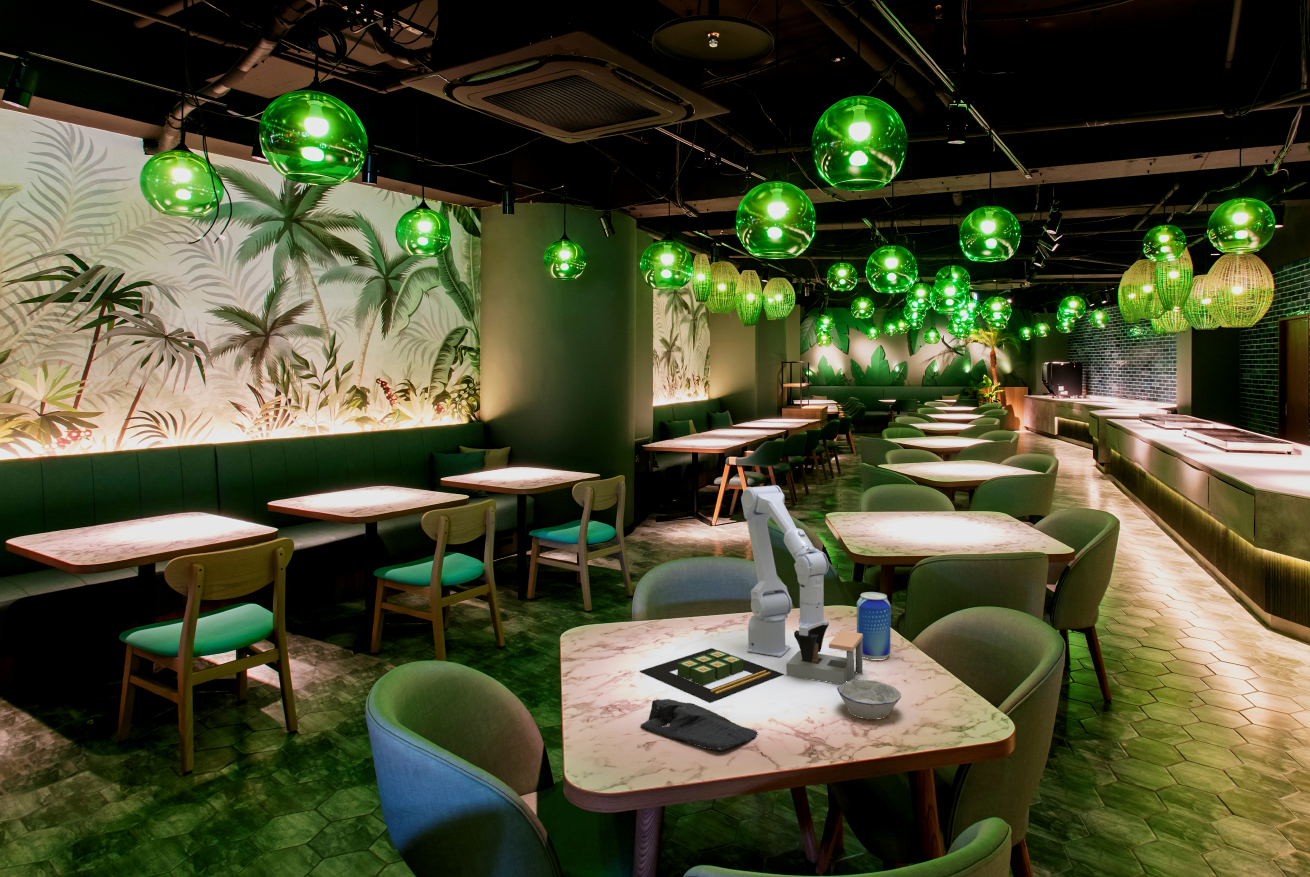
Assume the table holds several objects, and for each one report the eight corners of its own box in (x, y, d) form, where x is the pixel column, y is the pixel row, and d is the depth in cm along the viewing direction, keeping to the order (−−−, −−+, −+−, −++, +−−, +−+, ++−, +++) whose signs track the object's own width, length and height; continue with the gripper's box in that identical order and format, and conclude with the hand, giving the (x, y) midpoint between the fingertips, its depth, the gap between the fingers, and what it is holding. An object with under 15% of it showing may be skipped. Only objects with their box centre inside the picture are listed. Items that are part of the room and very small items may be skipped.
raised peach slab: (828, 683, 171) (828, 643, 171) (840, 668, 181) (840, 630, 180) (852, 687, 169) (852, 647, 168) (863, 671, 178) (863, 633, 178)
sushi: (710, 705, 161) (710, 689, 161) (639, 674, 180) (639, 659, 180) (783, 677, 177) (783, 662, 177) (711, 651, 196) (711, 637, 196)
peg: (803, 673, 178) (803, 644, 178) (806, 668, 181) (806, 640, 181) (816, 674, 177) (816, 646, 176) (819, 670, 180) (819, 642, 179)
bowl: (824, 709, 157) (824, 687, 157) (863, 695, 165) (863, 674, 164) (873, 730, 147) (873, 707, 146) (912, 714, 154) (913, 692, 154)
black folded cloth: (715, 764, 135) (715, 739, 135) (634, 727, 150) (634, 705, 150) (765, 736, 146) (765, 713, 145) (684, 705, 161) (684, 684, 161)
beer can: (886, 650, 193) (886, 591, 192) (893, 661, 185) (894, 599, 184) (854, 650, 194) (854, 590, 193) (860, 661, 185) (860, 599, 185)
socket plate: (786, 675, 177) (786, 663, 177) (798, 661, 185) (798, 650, 185) (844, 685, 170) (844, 672, 170) (854, 670, 179) (854, 658, 179)
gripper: (819, 611, 170) (819, 668, 170) (835, 596, 182) (835, 649, 183) (790, 607, 173) (790, 663, 174) (807, 593, 186) (808, 645, 186)
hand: (811, 656), depth 179 cm, fingers open, 7 cm apart
